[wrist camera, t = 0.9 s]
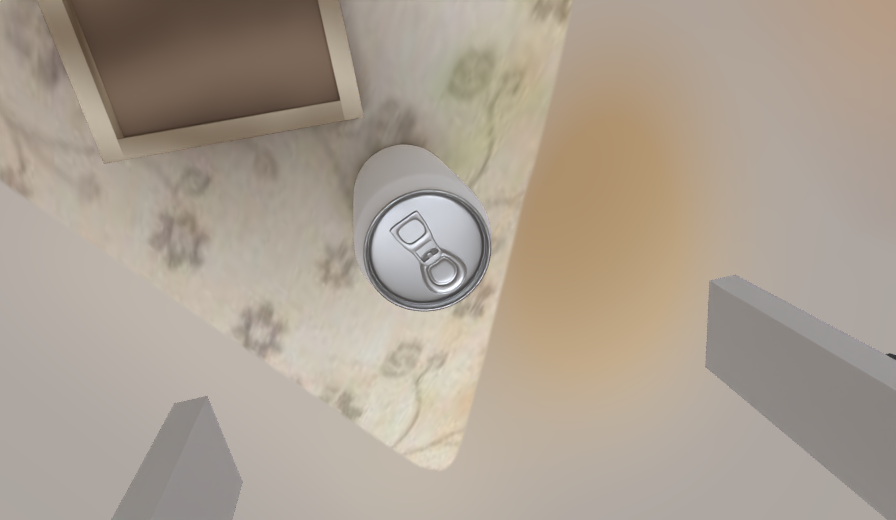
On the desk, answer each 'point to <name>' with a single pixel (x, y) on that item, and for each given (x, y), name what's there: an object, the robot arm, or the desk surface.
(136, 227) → the desk surface
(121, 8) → the wooden tray
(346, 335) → the desk surface
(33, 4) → the desk surface
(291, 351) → the desk surface
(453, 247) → the can
